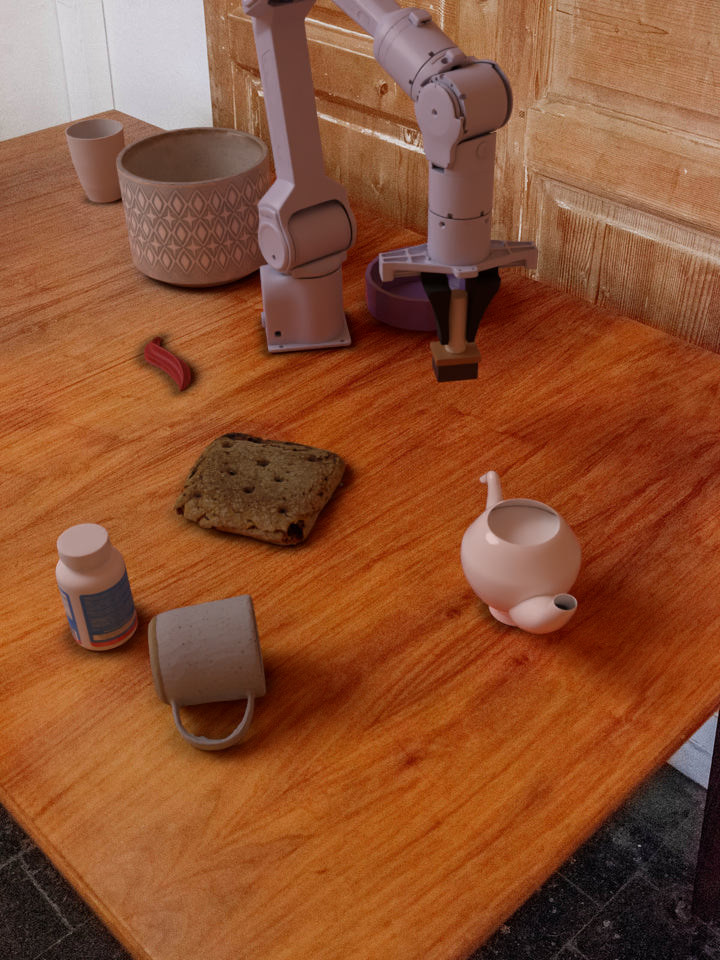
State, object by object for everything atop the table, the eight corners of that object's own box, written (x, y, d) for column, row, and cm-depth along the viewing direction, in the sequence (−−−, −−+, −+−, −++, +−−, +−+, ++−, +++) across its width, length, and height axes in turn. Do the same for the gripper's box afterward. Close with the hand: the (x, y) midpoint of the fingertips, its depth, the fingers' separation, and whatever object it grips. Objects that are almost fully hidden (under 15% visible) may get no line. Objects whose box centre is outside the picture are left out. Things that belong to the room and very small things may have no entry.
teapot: (530, 522, 100) (538, 440, 94) (617, 685, 84) (632, 598, 78) (429, 539, 98) (430, 456, 93) (498, 708, 83) (505, 621, 77)
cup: (139, 185, 163) (129, 118, 157) (125, 207, 157) (114, 139, 151) (87, 184, 164) (74, 118, 158) (70, 206, 158) (57, 139, 152)
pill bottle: (150, 613, 92) (132, 524, 86) (118, 659, 88) (97, 569, 82) (92, 600, 93) (71, 511, 87) (59, 644, 89) (34, 554, 83)
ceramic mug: (158, 657, 88) (143, 589, 83) (259, 642, 89) (251, 573, 84) (163, 765, 79) (148, 696, 75) (275, 747, 80) (267, 678, 76)
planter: (129, 239, 149) (111, 135, 140) (264, 222, 152) (255, 120, 143) (139, 303, 134) (120, 192, 126) (288, 283, 137) (280, 173, 129)
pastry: (209, 576, 95) (205, 550, 93) (145, 471, 107) (141, 446, 106) (384, 514, 101) (384, 488, 99) (304, 421, 113) (303, 397, 112)
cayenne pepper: (141, 341, 127) (139, 326, 126) (181, 335, 128) (179, 320, 127) (151, 395, 118) (148, 380, 117) (193, 389, 119) (191, 374, 118)
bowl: (375, 340, 126) (375, 306, 123) (359, 283, 137) (358, 250, 134) (496, 329, 127) (498, 294, 125) (470, 273, 138) (471, 240, 136)
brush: (436, 384, 107) (438, 304, 101) (429, 366, 109) (431, 287, 104) (480, 380, 107) (484, 300, 102) (472, 362, 110) (476, 283, 104)
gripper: (386, 232, 94) (387, 367, 102) (551, 218, 95) (539, 353, 103) (374, 198, 99) (376, 329, 107) (531, 186, 100) (521, 316, 109)
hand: (455, 338), depth 106 cm, fingers closed on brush, 2 cm apart
